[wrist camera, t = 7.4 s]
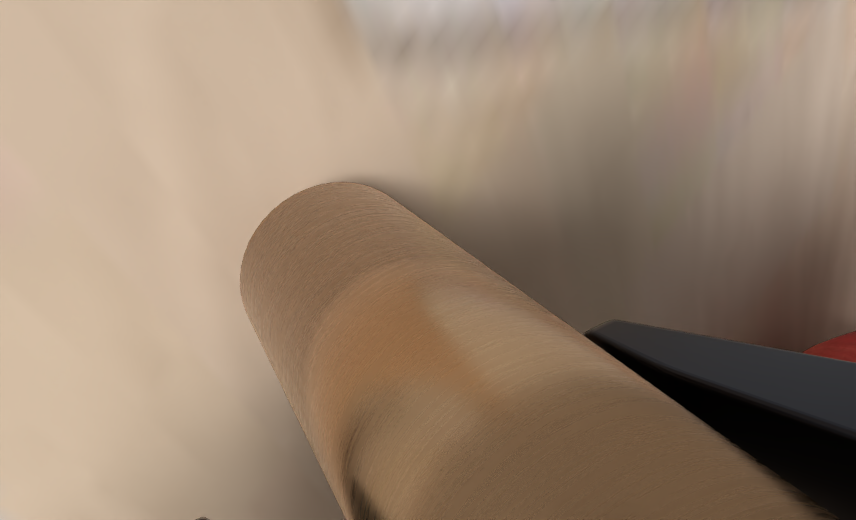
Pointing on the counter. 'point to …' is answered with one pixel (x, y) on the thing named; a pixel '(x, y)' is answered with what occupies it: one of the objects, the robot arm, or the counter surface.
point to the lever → (470, 385)
